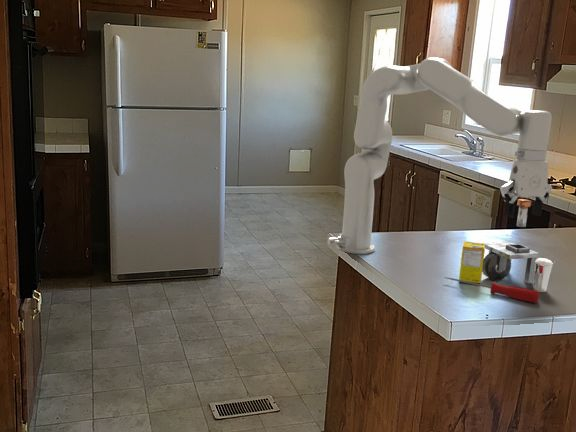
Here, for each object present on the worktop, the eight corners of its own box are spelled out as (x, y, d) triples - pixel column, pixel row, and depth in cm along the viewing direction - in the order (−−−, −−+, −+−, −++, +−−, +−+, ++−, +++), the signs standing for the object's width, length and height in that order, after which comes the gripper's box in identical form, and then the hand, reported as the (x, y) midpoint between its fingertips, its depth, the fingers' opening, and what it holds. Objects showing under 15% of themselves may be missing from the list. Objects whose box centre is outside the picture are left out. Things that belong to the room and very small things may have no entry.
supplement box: (480, 279, 174) (485, 243, 171) (480, 286, 168) (485, 248, 165) (459, 276, 175) (463, 240, 173) (458, 283, 170) (462, 246, 167)
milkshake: (550, 295, 164) (555, 260, 161) (529, 290, 166) (534, 256, 164) (552, 290, 168) (558, 256, 165) (532, 286, 170) (537, 252, 168)
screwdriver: (445, 281, 171) (446, 269, 170) (538, 301, 159) (540, 289, 158) (441, 285, 168) (443, 273, 167) (536, 305, 156) (538, 293, 155)
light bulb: (520, 227, 168) (524, 202, 167) (511, 224, 172) (515, 199, 170) (530, 227, 170) (534, 201, 168) (521, 224, 173) (525, 199, 171)
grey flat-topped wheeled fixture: (497, 287, 168) (501, 252, 165) (470, 273, 179) (474, 240, 176) (533, 283, 172) (539, 249, 170) (505, 270, 183) (510, 238, 181)
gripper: (515, 157, 159) (506, 220, 163) (565, 157, 166) (556, 217, 170) (496, 153, 166) (488, 213, 170) (545, 153, 172) (537, 211, 176)
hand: (522, 215), depth 170 cm, fingers open, 9 cm apart
